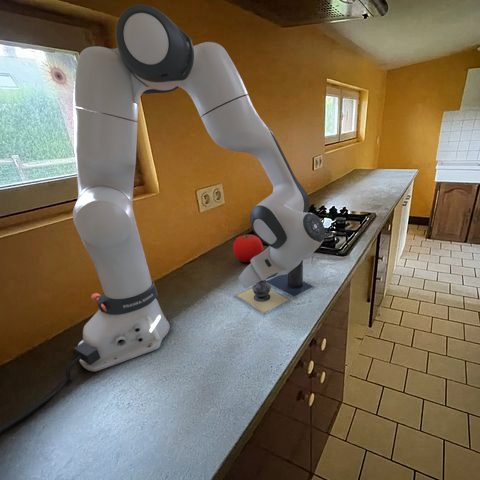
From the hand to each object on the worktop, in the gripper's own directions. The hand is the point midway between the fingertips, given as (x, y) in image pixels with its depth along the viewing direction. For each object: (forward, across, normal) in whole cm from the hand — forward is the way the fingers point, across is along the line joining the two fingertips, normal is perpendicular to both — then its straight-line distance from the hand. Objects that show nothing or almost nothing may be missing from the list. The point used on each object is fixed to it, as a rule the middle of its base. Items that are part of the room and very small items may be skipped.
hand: (259, 278), depth 92 cm
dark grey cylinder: (+2, -13, +7) cm, 15 cm away
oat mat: (+5, 0, +5) cm, 7 cm away
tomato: (+22, -16, -12) cm, 30 cm away
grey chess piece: (+4, 0, +5) cm, 7 cm away
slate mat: (+4, -12, +6) cm, 14 cm away
